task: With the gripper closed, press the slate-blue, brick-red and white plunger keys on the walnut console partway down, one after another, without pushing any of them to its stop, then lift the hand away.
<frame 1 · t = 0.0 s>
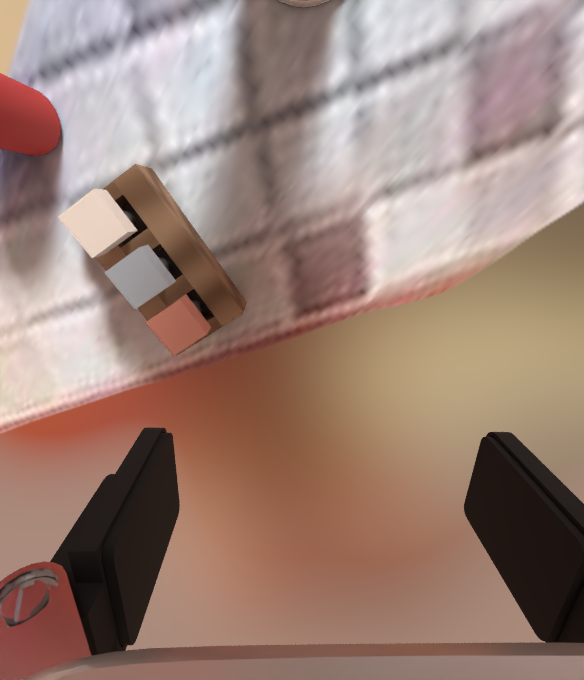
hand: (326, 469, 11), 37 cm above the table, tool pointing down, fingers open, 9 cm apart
brick-red key: (185, 317, 40), point 8 cm above the table, slide at 0.0 cm
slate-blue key: (150, 272, 38), point 8 cm above the table, slide at 0.0 cm
beer can: (34, 123, 39), on the table
white key: (111, 222, 36), point 8 cm above the table, slide at 0.0 cm
walnut console: (170, 262, 45), on the table
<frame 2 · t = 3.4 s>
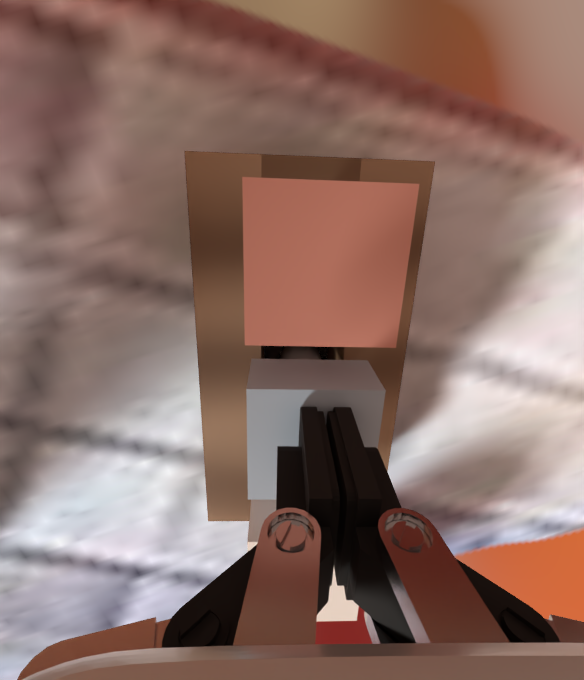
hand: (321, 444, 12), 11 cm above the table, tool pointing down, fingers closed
brick-red key: (313, 253, 13), point 8 cm above the table, slide at 0.0 cm
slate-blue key: (305, 394, 15), point 7 cm above the table, slide at 0.4 cm, touching gripper
beer can: (323, 565, 29), on the table
white key: (299, 507, 17), point 8 cm above the table, slide at 0.0 cm
walnut console: (296, 338, 22), on the table
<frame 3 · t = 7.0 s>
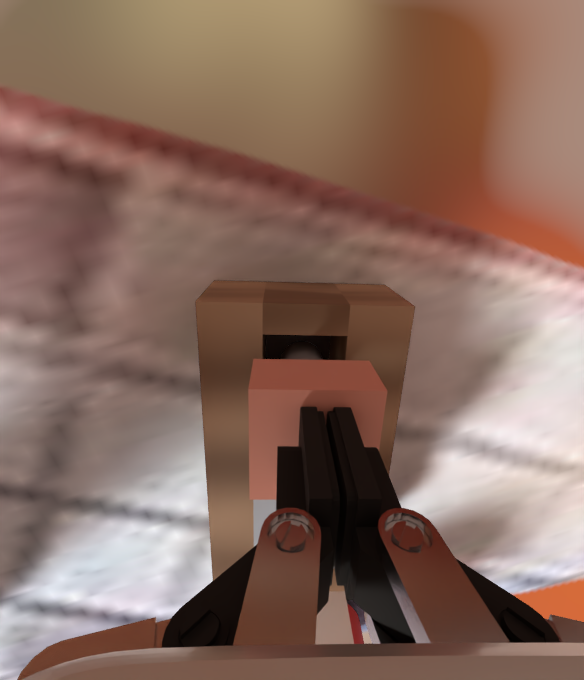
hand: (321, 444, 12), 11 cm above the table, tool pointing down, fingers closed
brick-red key: (306, 394, 15), point 7 cm above the table, slide at 0.5 cm, touching gripper
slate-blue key: (298, 475, 19), point 5 cm above the table, slide at 2.4 cm
beer can: (320, 615, 31), on the table
white key: (296, 595, 19), point 8 cm above the table, slide at 0.0 cm
walnut console: (294, 421, 24), on the table
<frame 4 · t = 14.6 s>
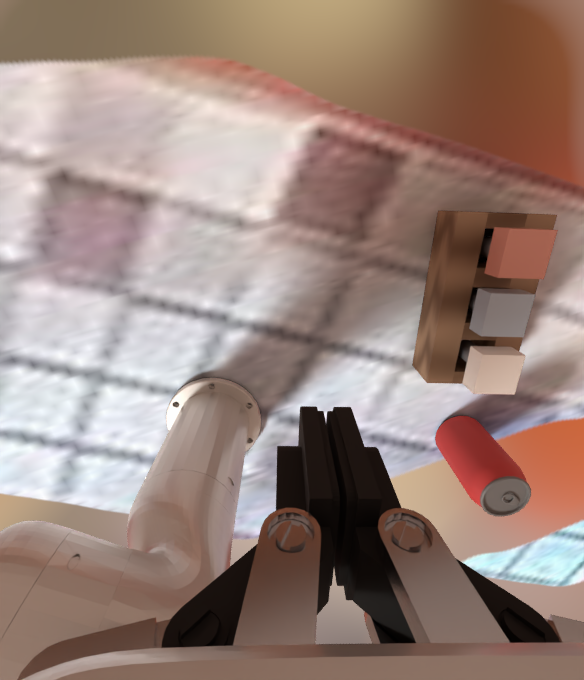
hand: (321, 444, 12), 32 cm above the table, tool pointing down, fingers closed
brick-red key: (503, 249, 36), point 6 cm above the table, slide at 1.9 cm
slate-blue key: (487, 306, 39), point 5 cm above the table, slide at 2.4 cm
beer can: (455, 432, 51), on the table
white key: (480, 360, 40), point 6 cm above the table, slide at 1.4 cm
walnut console: (464, 294, 43), on the table
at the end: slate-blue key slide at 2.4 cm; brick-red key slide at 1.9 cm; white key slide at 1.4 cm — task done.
